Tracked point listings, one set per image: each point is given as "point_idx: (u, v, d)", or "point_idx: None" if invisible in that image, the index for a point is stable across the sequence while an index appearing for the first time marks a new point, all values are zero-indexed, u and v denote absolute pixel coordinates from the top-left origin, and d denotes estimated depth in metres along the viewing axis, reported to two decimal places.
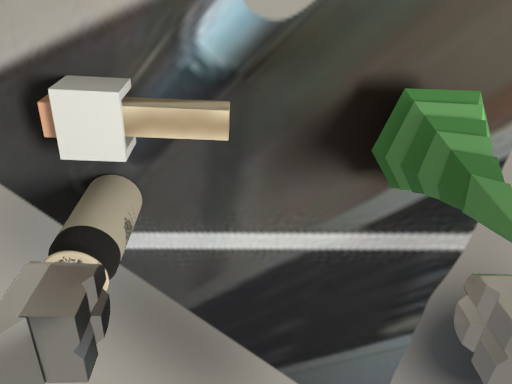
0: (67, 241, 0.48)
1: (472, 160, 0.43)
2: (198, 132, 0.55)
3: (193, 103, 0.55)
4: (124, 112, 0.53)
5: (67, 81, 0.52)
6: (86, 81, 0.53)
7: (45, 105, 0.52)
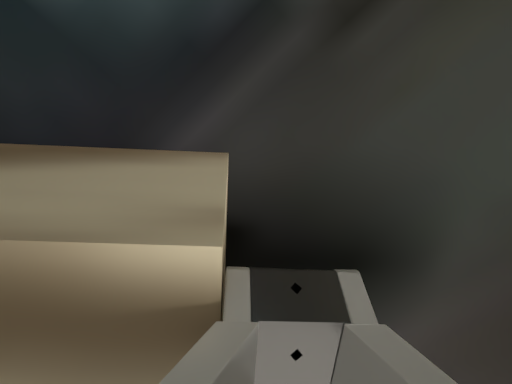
0: None
1: None
2: (29, 363, 0.09)
3: (9, 177, 0.09)
4: None
5: None
6: None
7: None
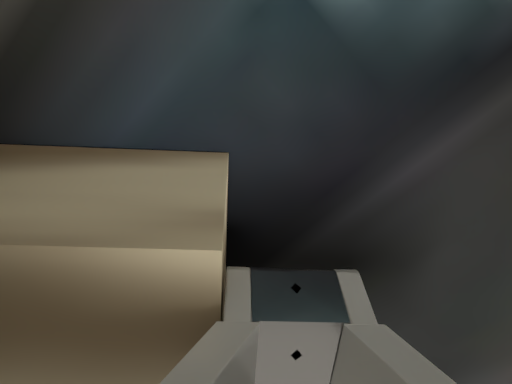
0: None
1: None
2: (27, 368, 0.09)
3: (6, 179, 0.09)
4: None
5: None
6: None
7: None
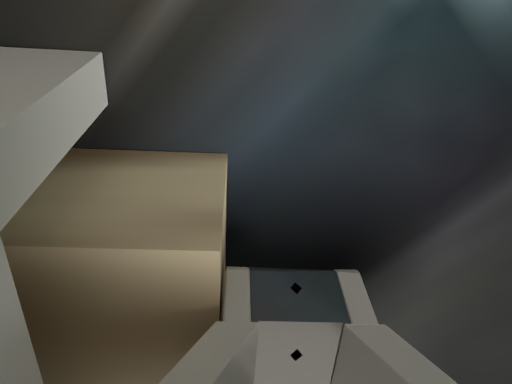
0: None
1: None
2: None
3: None
4: None
5: None
6: None
7: None
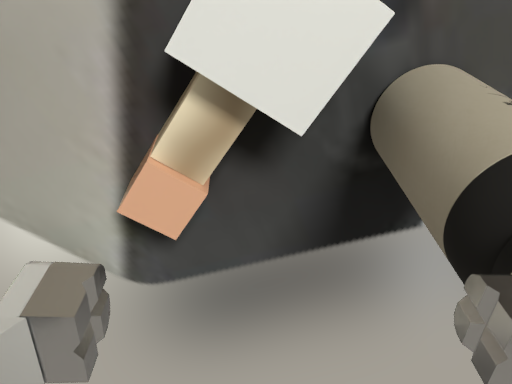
0: (491, 236, 0.17)
1: None
2: None
3: None
4: (200, 100, 0.26)
5: None
6: None
7: (126, 204, 0.29)
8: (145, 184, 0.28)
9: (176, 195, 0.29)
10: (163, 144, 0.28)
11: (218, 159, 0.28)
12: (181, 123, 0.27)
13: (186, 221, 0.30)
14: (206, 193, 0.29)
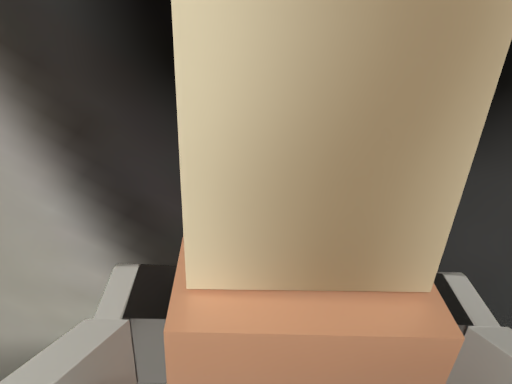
0: None
1: None
2: None
3: None
4: None
5: None
6: None
7: None
8: None
9: None
10: (204, 224, 0.06)
11: (458, 170, 0.06)
12: (224, 103, 0.05)
13: None
14: (457, 336, 0.07)
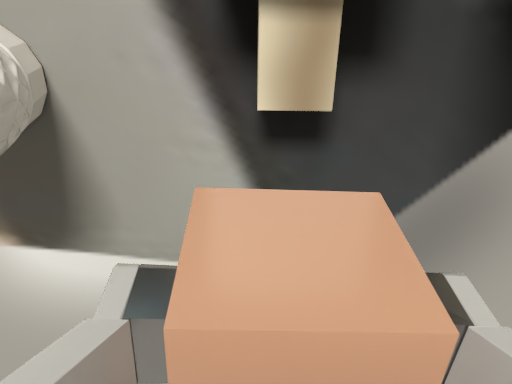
0: None
1: None
2: None
3: None
4: (276, 8, 0.21)
5: None
6: None
7: None
8: None
9: None
10: (264, 86, 0.22)
11: (333, 68, 0.22)
12: (270, 50, 0.22)
13: None
14: (452, 332, 0.07)
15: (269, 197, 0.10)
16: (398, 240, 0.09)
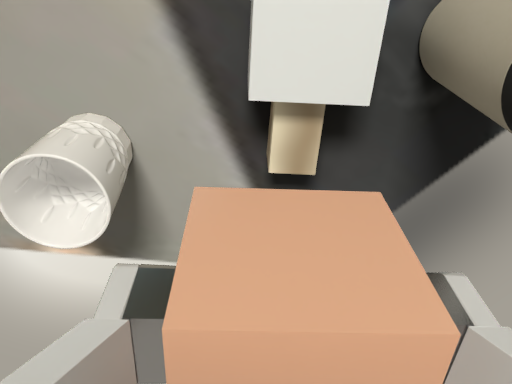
0: None
1: None
2: None
3: None
4: (284, 116, 0.34)
5: None
6: None
7: None
8: None
9: None
10: (273, 159, 0.36)
11: (316, 151, 0.36)
12: (278, 139, 0.35)
13: None
14: (453, 333, 0.07)
15: (269, 196, 0.10)
16: (398, 239, 0.09)
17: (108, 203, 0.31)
